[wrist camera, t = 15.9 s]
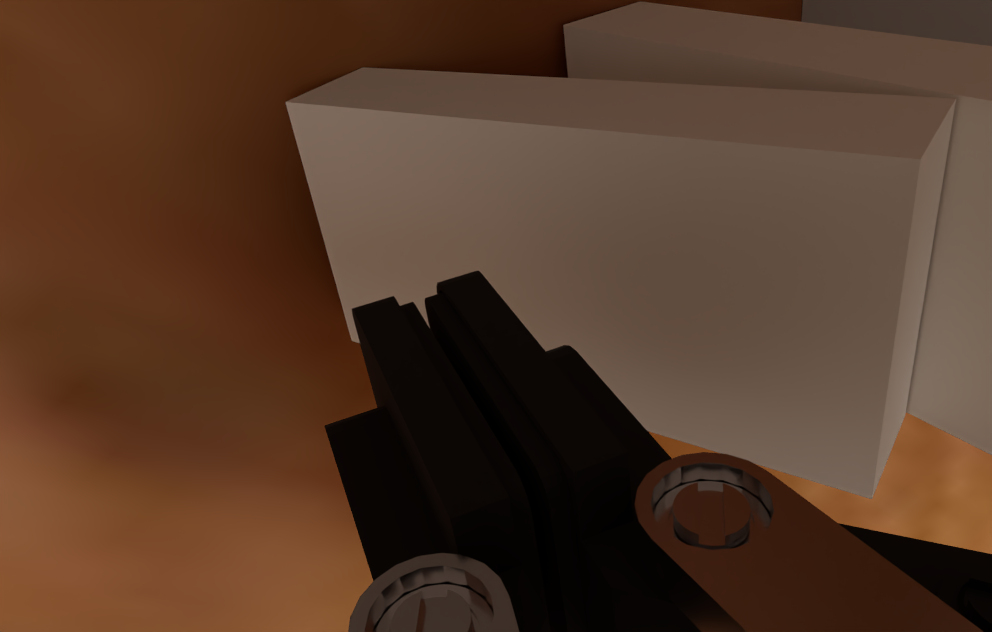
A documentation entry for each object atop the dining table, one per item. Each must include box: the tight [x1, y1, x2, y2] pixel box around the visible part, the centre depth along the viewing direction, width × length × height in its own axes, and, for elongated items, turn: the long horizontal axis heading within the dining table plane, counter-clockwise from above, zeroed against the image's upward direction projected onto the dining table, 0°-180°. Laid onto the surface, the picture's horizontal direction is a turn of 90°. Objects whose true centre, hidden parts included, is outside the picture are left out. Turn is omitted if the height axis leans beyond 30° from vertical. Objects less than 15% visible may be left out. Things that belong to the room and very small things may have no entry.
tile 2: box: [563, 1, 992, 455], centre depth 14 cm, size 2×5×10 cm, turn 10°
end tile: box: [285, 67, 956, 499], centre depth 13 cm, size 2×5×10 cm
